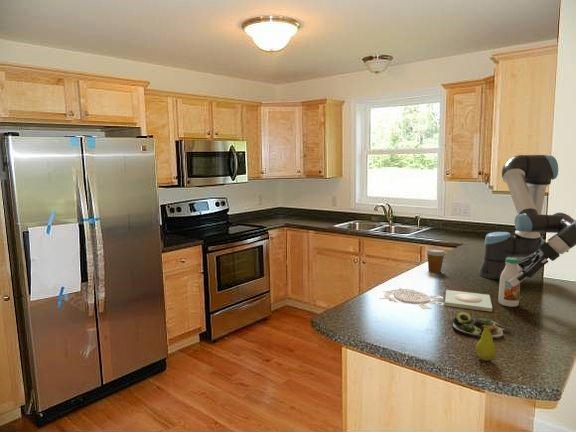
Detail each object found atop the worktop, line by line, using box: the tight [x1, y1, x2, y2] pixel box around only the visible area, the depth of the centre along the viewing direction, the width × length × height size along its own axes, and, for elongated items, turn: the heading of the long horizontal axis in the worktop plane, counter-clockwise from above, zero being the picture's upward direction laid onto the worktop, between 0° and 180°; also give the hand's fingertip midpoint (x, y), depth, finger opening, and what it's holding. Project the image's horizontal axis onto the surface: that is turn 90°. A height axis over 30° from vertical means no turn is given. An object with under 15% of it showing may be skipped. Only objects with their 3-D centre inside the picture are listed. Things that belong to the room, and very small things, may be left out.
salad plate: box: [451, 310, 512, 339], centre depth 148 cm, size 19×18×5 cm
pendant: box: [379, 286, 445, 310], centre depth 182 cm, size 21×28×1 cm
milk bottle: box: [498, 257, 521, 308], centre depth 174 cm, size 8×8×20 cm
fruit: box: [475, 320, 497, 362], centre depth 125 cm, size 6×6×12 cm
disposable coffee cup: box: [426, 248, 446, 274], centre depth 225 cm, size 10×10×12 cm
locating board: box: [444, 289, 493, 313], centre depth 177 cm, size 18×18×2 cm
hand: (508, 279), depth 173 cm, fingers open, 13 cm apart
